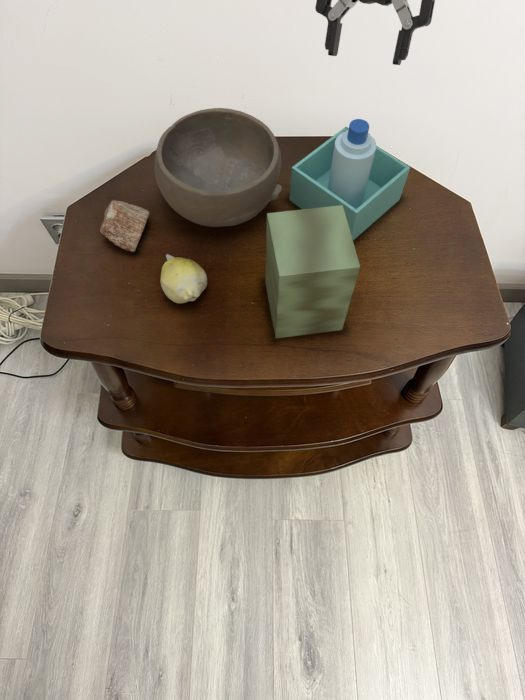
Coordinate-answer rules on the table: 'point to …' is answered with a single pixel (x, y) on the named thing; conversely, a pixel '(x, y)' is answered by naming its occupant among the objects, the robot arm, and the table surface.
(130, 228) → the stone
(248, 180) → the bowl
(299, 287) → the stand
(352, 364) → the table surface
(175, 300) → the fruit
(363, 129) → the bottle
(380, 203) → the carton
